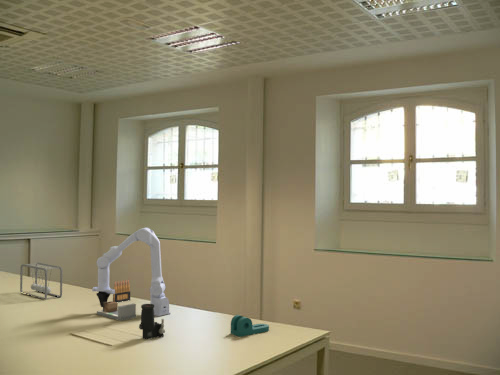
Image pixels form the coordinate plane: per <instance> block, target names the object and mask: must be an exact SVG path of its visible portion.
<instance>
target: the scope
mask: <svg viewBox="0 0 500 375" xmlns="http://www.w3.org/2000/svg"><path fill="white" fill-rule="evenodd" d="M140 308H141V312H140V314H141V315H140V324H139V325H138V329H139V330H141V331H142V337H141V338H142V340H151V338H152V339H154V337H155V338H164V336H165V335H164V334H165V332H166V331H165V330H166V329H164V327H165V324H164V323H165V319H164V318H161V323H158V322H157V321H155V315H154V309H153V308H154V304H150V303H144V304H141V305H140ZM161 336H162V337H161Z"/></svg>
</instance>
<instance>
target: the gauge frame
mask: <svg viewBox="0 0 500 375" xmlns="http://www.w3.org/2000/svg"><path fill="white" fill-rule="evenodd" d="M136 307H137V304H136V303H128V304H123V305H118V311H113V312H106V311H104V312H103V309H101V310H97V311H96V315H98V316H101V317H105V318H109V319H113V320H116V321H120V322H121V321H127V320H131V319H135V318H137V314H136V313H137V312H136V311H137V308H136Z"/></svg>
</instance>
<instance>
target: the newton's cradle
mask: <svg viewBox="0 0 500 375" xmlns="http://www.w3.org/2000/svg"><path fill="white" fill-rule="evenodd" d="M23 267H26V268H30V269H31V270H30V272H33V271H32V270H33V269H34V275H35V279H34V278H33V275H31V277H32V279H34V281H32V284H31V285H30V289H31V291H36V292H37V291H39V292H38V293H40V292H43V293H42V294H44V293H45V294H44V297H42V296H39V295H36V294H32V293H26V294H29V295H32V296H35V297H38V298H37V299H39V298H41V299H40V300H43V299H45V300H48V299H54V298H55V299H56V298H62V296H63V268H62V267H61V266H57V265H54V264H48V263H47V264H46V263H42V262H36V263H34V265H33V263H27V264H24V263H22V264H21V265H20V270H19V272H20V281H19V284H20V285H19V286H20V288H19V292H20V293H21V292H23V293H24V292H25V291H23V270H24V269H23ZM54 269H58V270H59V271H60V272H59V273H60V275H59V277H60V279H59V282H60V285H59V293H60V294H59V295H58V294H55V293H52V289H51V287H49V284H50V283H48V281H50V280H51V279H50V278H49V280H48V271H49V270H50V271H52V270H54ZM39 270H40V272H39ZM42 271H43V272H42ZM38 272H39V273H38ZM42 273H43V274H42ZM51 274H52V272H50V275H49V276H51ZM40 275H42V276H44V278H40V277H41V276H40ZM40 279H41V280H40ZM41 281H44V283H40V282H41ZM48 294H50V295H49V296H51V297H48ZM52 295H53V296H52ZM32 296H31V297H32ZM55 296H57V297H55ZM35 297H34V298H35Z"/></svg>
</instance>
